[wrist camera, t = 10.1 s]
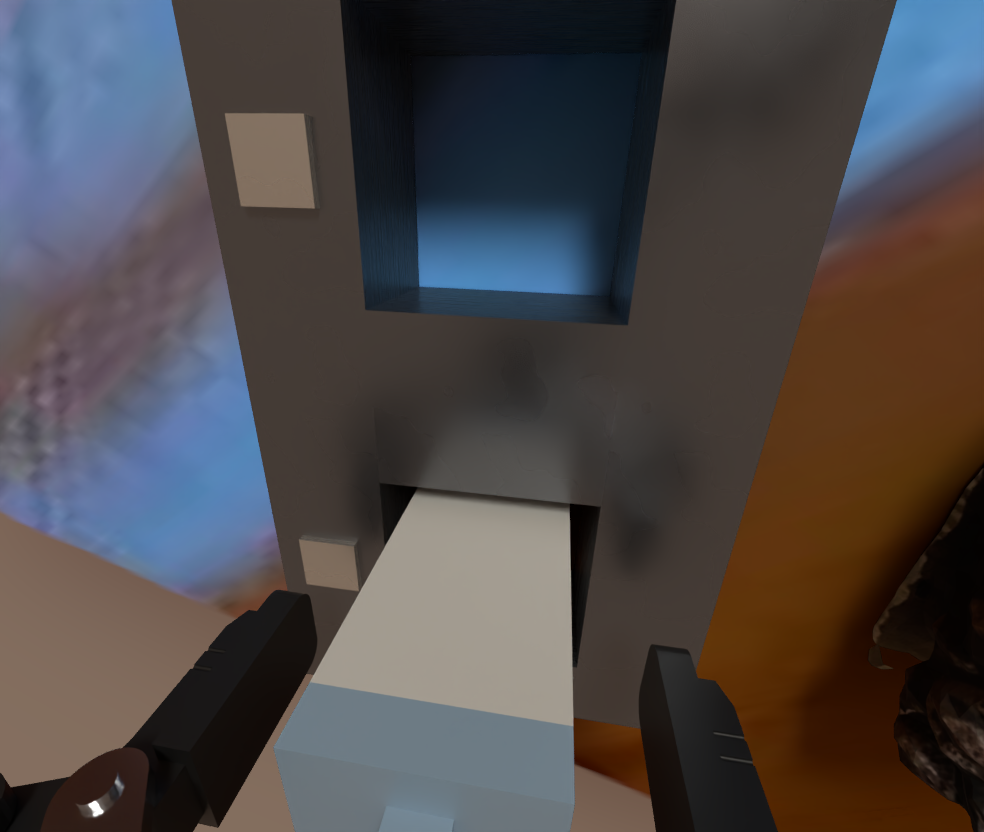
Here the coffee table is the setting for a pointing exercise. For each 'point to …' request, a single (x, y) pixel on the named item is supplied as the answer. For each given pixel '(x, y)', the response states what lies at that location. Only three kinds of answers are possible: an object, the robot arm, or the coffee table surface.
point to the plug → (446, 680)
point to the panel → (525, 315)
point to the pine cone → (943, 658)
